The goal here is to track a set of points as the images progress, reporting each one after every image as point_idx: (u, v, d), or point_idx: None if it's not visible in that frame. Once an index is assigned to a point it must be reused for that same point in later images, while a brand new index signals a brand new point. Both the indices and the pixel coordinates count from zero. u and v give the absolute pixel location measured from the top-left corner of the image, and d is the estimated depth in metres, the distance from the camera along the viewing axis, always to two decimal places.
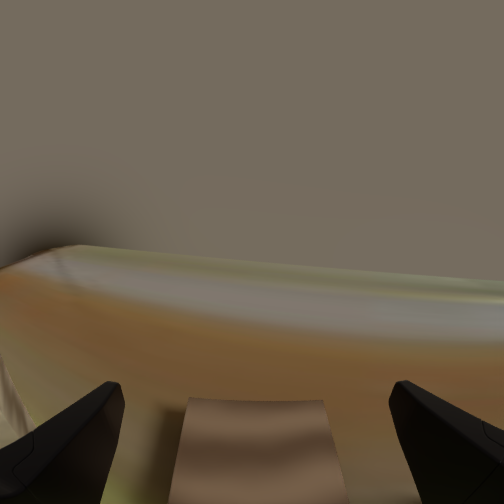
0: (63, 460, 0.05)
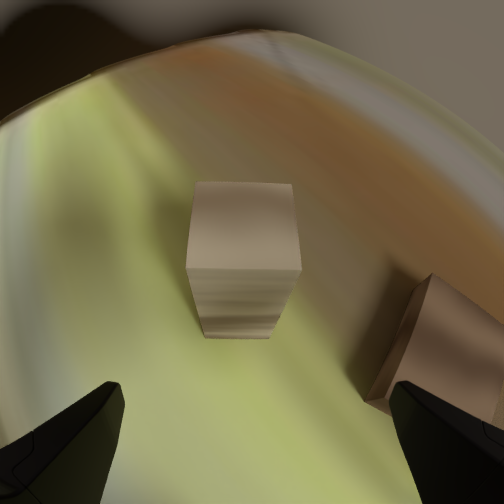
0: (62, 460, 0.05)
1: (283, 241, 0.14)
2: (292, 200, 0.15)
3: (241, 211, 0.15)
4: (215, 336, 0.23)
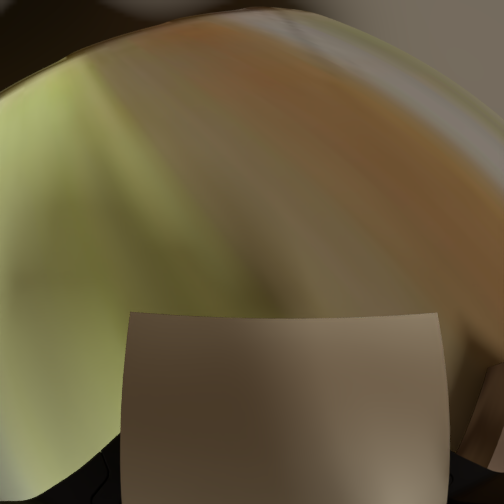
0: None
1: None
2: (443, 375, 0.04)
3: (297, 450, 0.03)
4: None
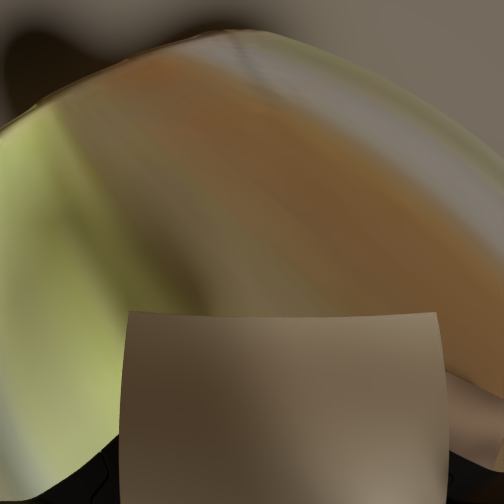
0: None
1: None
2: (442, 374, 0.04)
3: (296, 449, 0.03)
4: None
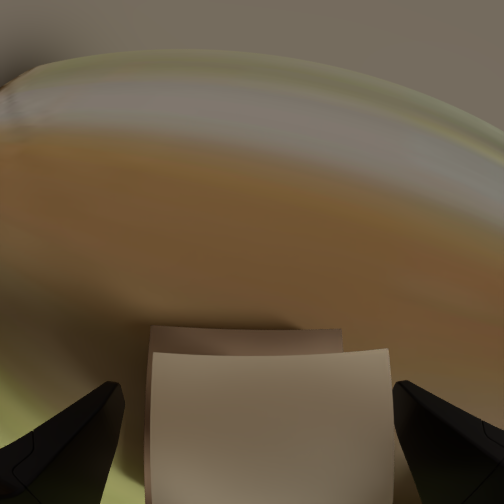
0: (63, 460, 0.05)
1: None
2: (389, 397, 0.05)
3: (273, 448, 0.05)
4: None
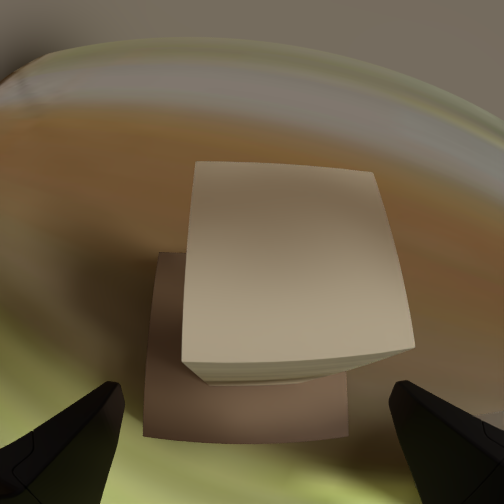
0: (63, 460, 0.05)
1: (380, 290, 0.06)
2: (380, 203, 0.08)
3: (293, 224, 0.07)
4: (224, 385, 0.16)
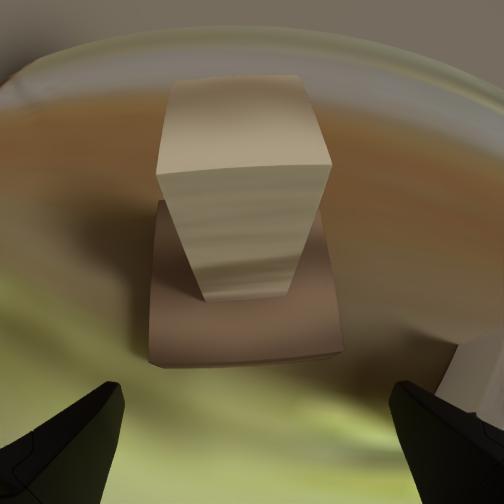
0: (62, 460, 0.05)
1: (299, 131, 0.09)
2: (303, 90, 0.10)
3: (235, 103, 0.10)
4: (218, 298, 0.18)
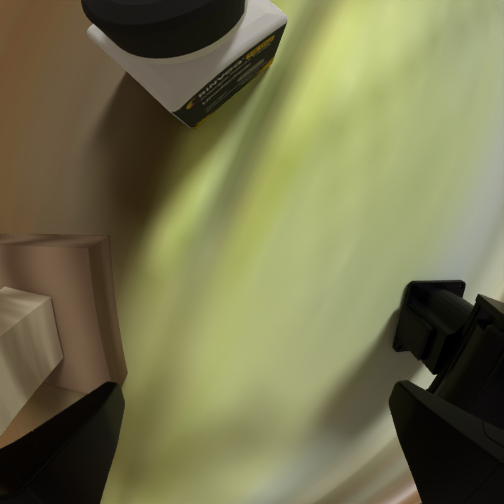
0: (63, 460, 0.05)
1: None
2: None
3: None
4: (57, 352, 0.17)
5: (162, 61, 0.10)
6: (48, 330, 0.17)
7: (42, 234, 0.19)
